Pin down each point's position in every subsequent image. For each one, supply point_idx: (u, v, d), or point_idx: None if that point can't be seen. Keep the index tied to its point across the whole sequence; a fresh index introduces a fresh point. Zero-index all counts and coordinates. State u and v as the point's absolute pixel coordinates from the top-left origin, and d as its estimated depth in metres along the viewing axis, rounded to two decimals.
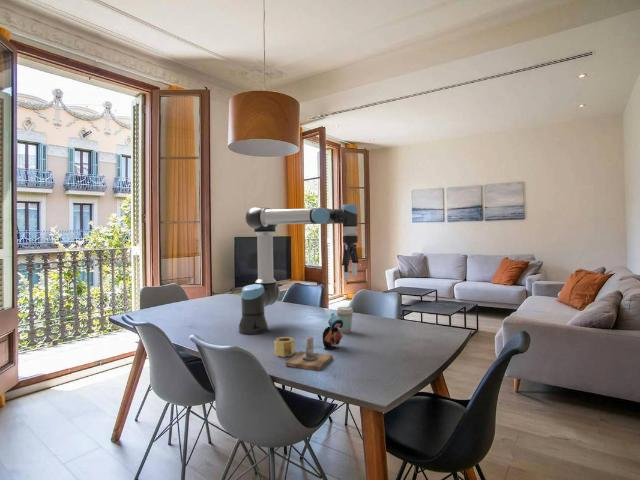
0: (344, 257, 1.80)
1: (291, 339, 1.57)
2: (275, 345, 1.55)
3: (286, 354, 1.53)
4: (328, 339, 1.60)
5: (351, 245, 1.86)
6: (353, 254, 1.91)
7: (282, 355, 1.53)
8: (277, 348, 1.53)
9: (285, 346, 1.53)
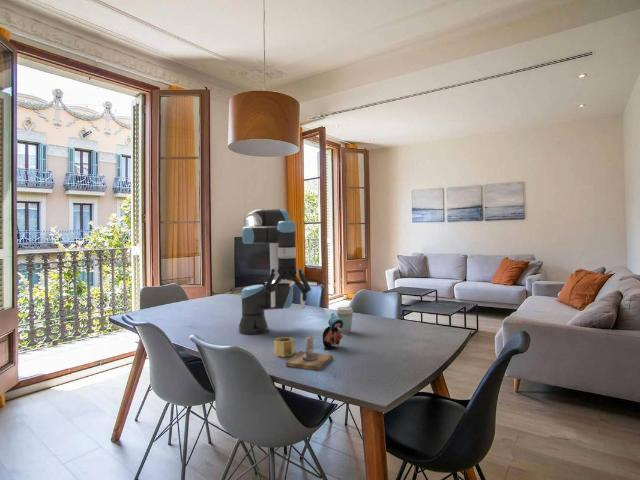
0: None
1: (291, 339, 1.57)
2: (275, 345, 1.55)
3: (286, 354, 1.53)
4: (328, 339, 1.60)
5: (282, 269, 1.57)
6: None
7: (282, 355, 1.53)
8: (277, 348, 1.53)
9: (285, 346, 1.53)
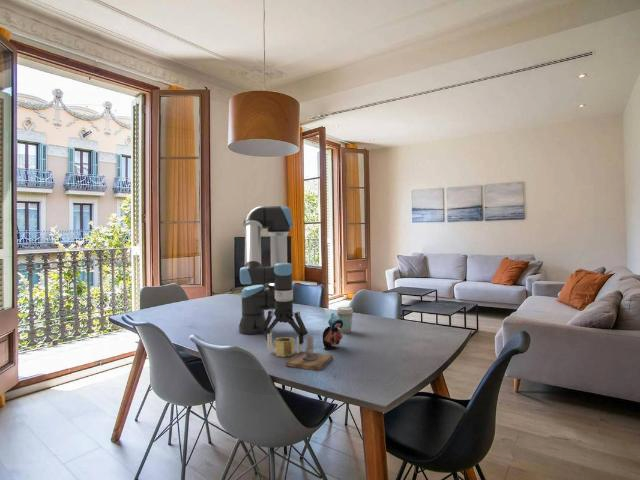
0: None
1: (291, 339, 1.57)
2: (275, 345, 1.55)
3: (286, 354, 1.53)
4: (328, 339, 1.60)
5: (279, 312, 1.56)
6: None
7: (282, 355, 1.53)
8: (277, 348, 1.53)
9: (285, 346, 1.53)
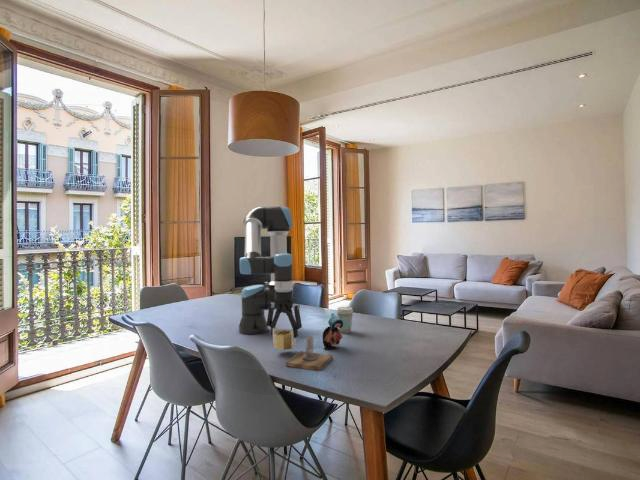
0: None
1: None
2: (275, 338, 1.55)
3: (286, 347, 1.54)
4: (328, 339, 1.60)
5: (278, 301, 1.56)
6: None
7: (282, 348, 1.53)
8: (277, 341, 1.54)
9: (285, 339, 1.53)
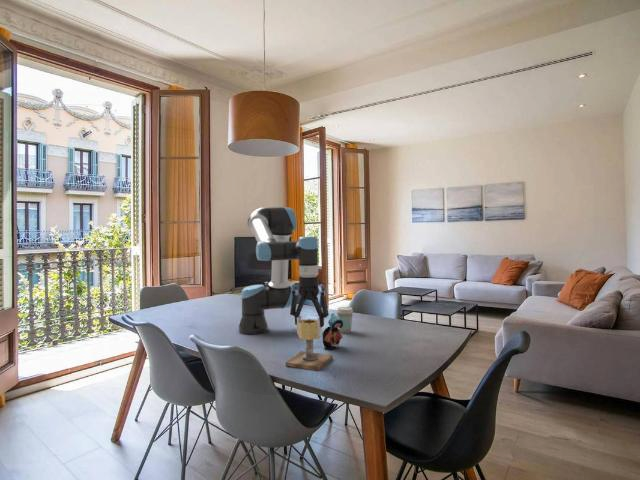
0: None
1: (317, 321, 1.46)
2: (300, 327, 1.44)
3: (312, 337, 1.42)
4: (328, 339, 1.60)
5: (303, 288, 1.45)
6: None
7: (308, 338, 1.42)
8: (302, 330, 1.42)
9: (311, 328, 1.42)
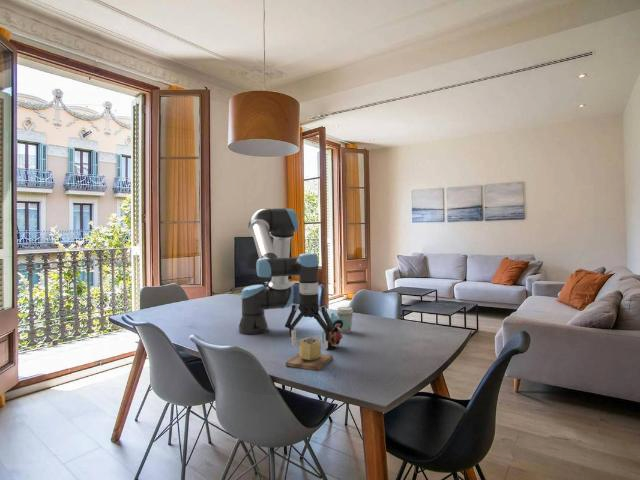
0: None
1: (317, 340, 1.46)
2: (300, 347, 1.44)
3: (312, 356, 1.42)
4: None
5: (304, 306, 1.45)
6: None
7: (308, 357, 1.42)
8: (302, 350, 1.43)
9: (311, 348, 1.42)
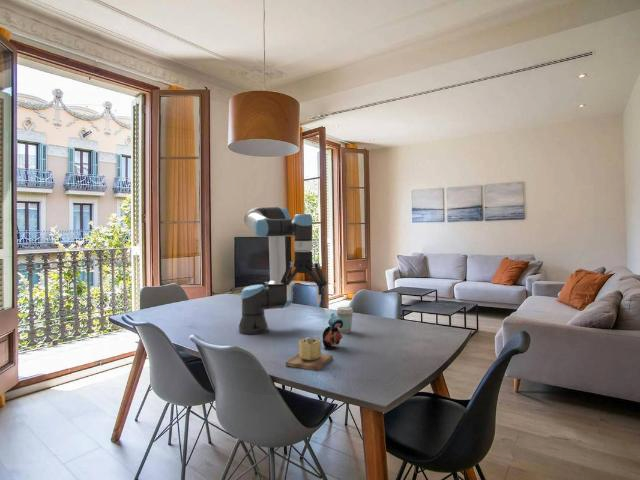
0: None
1: (317, 340, 1.46)
2: (300, 347, 1.44)
3: (312, 356, 1.42)
4: (328, 339, 1.60)
5: (298, 263, 1.56)
6: None
7: (308, 357, 1.42)
8: (302, 350, 1.43)
9: (311, 348, 1.42)
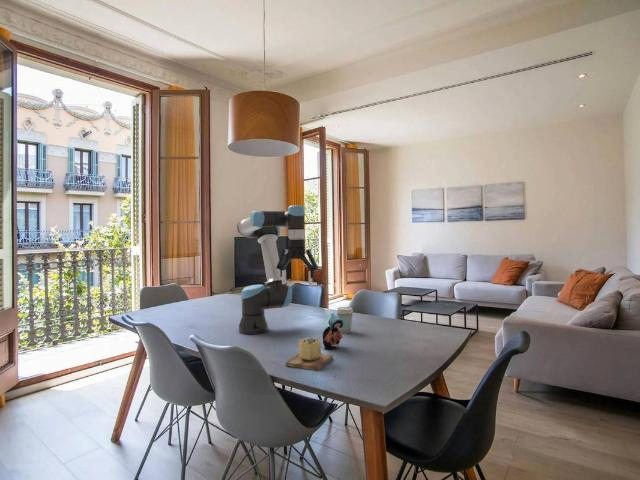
0: None
1: (317, 340, 1.46)
2: (300, 347, 1.44)
3: (312, 356, 1.42)
4: (328, 339, 1.60)
5: (292, 250, 1.73)
6: None
7: (308, 357, 1.42)
8: (302, 350, 1.43)
9: (311, 348, 1.42)
